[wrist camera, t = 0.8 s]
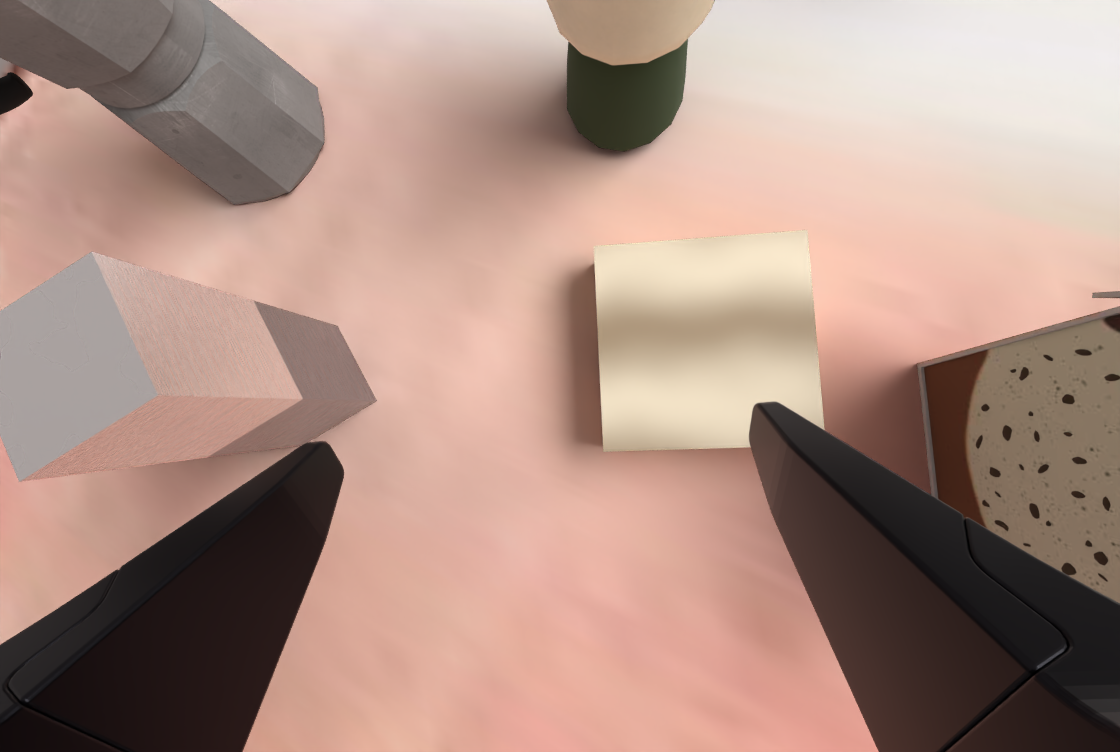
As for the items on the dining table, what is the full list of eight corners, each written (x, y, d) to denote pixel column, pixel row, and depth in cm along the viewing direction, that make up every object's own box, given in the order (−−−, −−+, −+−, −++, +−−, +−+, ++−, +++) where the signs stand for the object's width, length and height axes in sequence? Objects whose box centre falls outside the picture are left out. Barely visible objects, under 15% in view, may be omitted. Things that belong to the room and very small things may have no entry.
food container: (1082, 585, 20) (1548, 759, 10) (941, 586, 21) (1252, 751, 11) (1047, 326, 21) (1444, 255, 11) (913, 334, 22) (1177, 273, 12)
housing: (376, 400, 24) (157, 395, 12) (303, 445, 24) (19, 481, 13) (337, 326, 25) (91, 251, 13) (265, 370, 25) (-40, 337, 13)
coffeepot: (311, 15, 26) (-299, -806, 9) (384, 134, 25) (-136, -517, 7) (112, 154, 27) (-839, -336, 9) (175, 275, 26) (-759, -11, 8)
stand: (800, 440, 22) (825, 445, 19) (603, 446, 23) (603, 451, 20) (784, 249, 23) (807, 229, 20) (594, 263, 24) (593, 246, 21)
